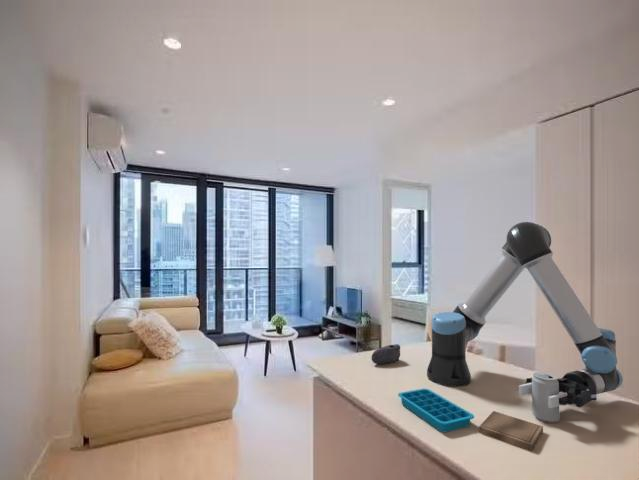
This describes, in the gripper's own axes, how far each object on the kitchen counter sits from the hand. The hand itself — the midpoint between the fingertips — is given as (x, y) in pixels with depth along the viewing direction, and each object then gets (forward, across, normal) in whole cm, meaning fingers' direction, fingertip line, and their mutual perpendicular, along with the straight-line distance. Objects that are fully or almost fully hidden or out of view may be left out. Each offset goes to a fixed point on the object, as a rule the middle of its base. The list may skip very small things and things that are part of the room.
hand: (534, 396), depth 94 cm
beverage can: (-5, 0, -7) cm, 9 cm away
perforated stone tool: (+9, +57, -7) cm, 58 cm away
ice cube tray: (+22, +15, -8) cm, 28 cm away
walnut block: (+11, -1, -7) cm, 13 cm away
